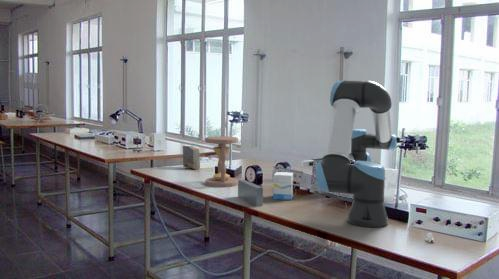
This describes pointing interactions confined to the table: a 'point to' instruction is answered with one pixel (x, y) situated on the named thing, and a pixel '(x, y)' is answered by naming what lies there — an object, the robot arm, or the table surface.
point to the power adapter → (429, 237)
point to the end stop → (250, 192)
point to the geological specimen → (191, 157)
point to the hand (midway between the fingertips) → (302, 164)
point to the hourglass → (221, 162)
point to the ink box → (283, 186)
